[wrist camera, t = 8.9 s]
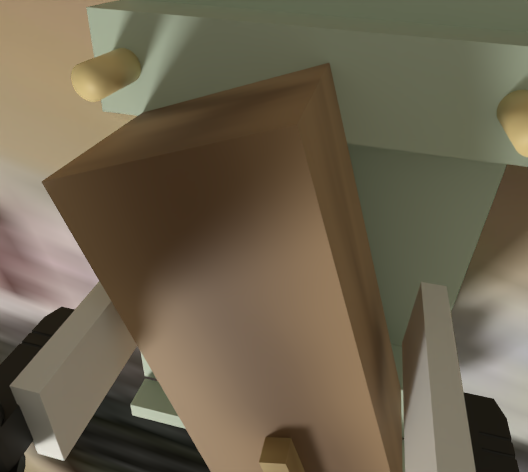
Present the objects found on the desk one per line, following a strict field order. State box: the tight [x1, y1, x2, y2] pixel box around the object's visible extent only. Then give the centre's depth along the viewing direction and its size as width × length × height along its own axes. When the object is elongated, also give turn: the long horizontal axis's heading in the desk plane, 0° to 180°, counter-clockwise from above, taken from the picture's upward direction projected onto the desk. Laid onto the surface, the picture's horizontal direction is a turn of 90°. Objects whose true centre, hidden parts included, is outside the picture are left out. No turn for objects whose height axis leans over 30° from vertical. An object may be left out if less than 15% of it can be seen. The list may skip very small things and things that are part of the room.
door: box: [42, 63, 403, 472], centre depth 14 cm, size 6×13×6 cm, turn 18°
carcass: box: [71, 0, 528, 472], centre depth 16 cm, size 13×19×5 cm
